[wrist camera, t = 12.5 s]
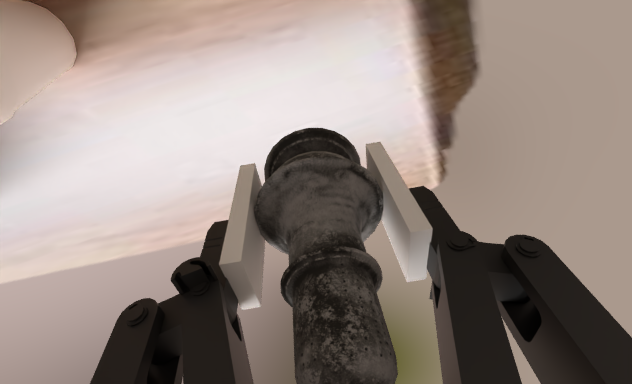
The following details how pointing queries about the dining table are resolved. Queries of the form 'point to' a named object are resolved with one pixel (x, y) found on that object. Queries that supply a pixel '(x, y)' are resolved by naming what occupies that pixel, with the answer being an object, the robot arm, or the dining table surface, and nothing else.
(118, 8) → the dining table surface
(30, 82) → the foam cup
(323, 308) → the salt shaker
